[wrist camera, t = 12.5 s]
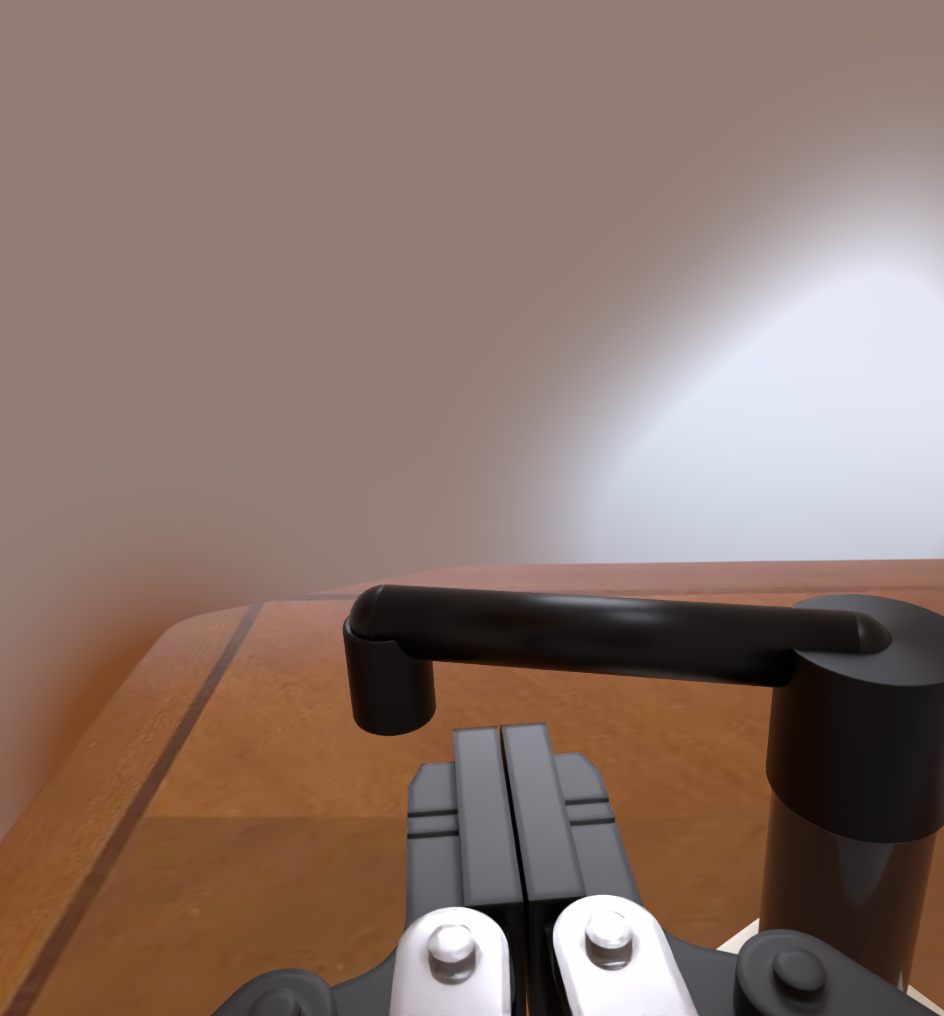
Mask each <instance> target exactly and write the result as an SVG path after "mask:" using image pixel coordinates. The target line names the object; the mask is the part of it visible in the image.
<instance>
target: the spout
mask: <svg viewBox="0 0 944 1016" xmlns="http://www.w3.org/2000/svg"><path fill="white" fill-rule="evenodd" d="M343 637H344V645H345V653H346V661H347V669H348V678H349V686H350V694H351V702H352V710H353V717H354V720H355V722H356V723H357V725H358V726H359V727H360V728H362V729H363V730H365V731H367V732H369V733H372V734H376V735H382V736H395V735H402V734H406V733H410V732H412V731H415V730H417V729H419V728H421V727H422V726H424V725H425V724H427V723H428V722H429V721H430V720H431V718H432V717H433V715H434V713H435V710H436V700H435V688H434V675H433V663H432V661H440V662H452V663H465V664H478V665H491V666H504V667H517V668H530V669H543V670H556V671H569V672H582V673H595V674H608V675H621V676H634V677H647V678H660V679H673V680H686V681H698V682H711V683H724V684H737V685H750V686H763V687H773V693H772V704H771V715H770V726H769V737H768V748H767V759H766V774H767V778H768V781H769V783H770V785H771V788H772V789H773V791H774V792H775V794H776V795H777V797H778V798H779V799H780V800H781V801H782V802H783V803H784V804H785V805H786V806H787V807H788V808H789V809H790V810H791V811H793V812H794V813H795V814H797V815H798V816H799V817H801V818H802V819H804V820H806V821H807V822H809V823H810V824H812V825H814V826H816V827H818V828H820V829H823V830H825V831H827V832H830V833H832V834H835V835H838V836H841V837H844V838H848V839H852V840H856V841H861V842H868V843H877V844H900V843H909V842H913V841H917V840H920V839H923V838H926V837H928V836H930V835H932V834H933V833H935V832H937V831H938V830H939V829H940V828H941V827H942V826H943V825H944V617H943V616H941V615H940V614H937V613H935V612H933V611H930V610H928V609H925V608H922V607H920V606H917V605H913V604H910V603H907V602H903V601H899V600H894V599H889V598H884V597H877V596H870V595H855V594H840V595H827V596H820V597H815V598H811V599H807V600H804V601H802V602H799V603H797V604H795V605H793V606H792V607H776V606H758V605H741V604H723V603H705V602H688V601H670V600H653V599H635V598H617V597H600V596H582V595H564V594H547V593H529V592H511V591H494V590H476V589H458V588H441V587H423V586H406V585H378V586H374V587H372V588H370V589H368V590H366V591H365V592H363V593H362V594H361V595H360V596H359V597H358V598H357V600H356V601H355V603H354V604H353V607H352V609H351V612H350V615H349V616H348V617H347V618H346V620H345V621H344V624H343Z"/></svg>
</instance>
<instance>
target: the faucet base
mask: <svg viewBox="0 0 944 1016" xmlns="http://www.w3.org/2000/svg"><path fill="white" fill-rule="evenodd" d="M936 836H937V832H935V833H933V834H932V835H930V836H928V837H926V838H923V839H920V840H917V841H913V842H909V843H900V844H877V843H868V842H861V841H856V840H852V839H848V838H844V837H841V836H838V835H835V834H832V833H830V832H827V831H825V830H823V829H820V828H818V827H816V826H814V825H812V824H810V823H809V822H807V821H806V820H804V819H802V818H801V817H799V816H798V815H797V814H795V813H794V812H793V811H791V810H790V809H789V808H788V807H787V806H786V805H785V804H784V803H783V802H782V801H781V800H780V799H779V798H778V797H777V795H776V794H775V792H774V791H773V789H772V791H771V802H770V812H769V823H768V833H767V844H766V855H765V865H764V876H763V886H762V897H761V907H760V917H759V918H758V919H757V920H755V921H754V922H753V923H751V924H750V925H749V926H747V927H746V928H744V929H743V930H742V931H740V932H739V933H738V934H736V935H735V936H733V937H732V938H731V939H729V940H728V941H727V942H725V943H724V944H723V945H721V946H720V947H718V948H717V949H716V950H720V951H725V952H730V953H735V954H738V953H739V951H740V948H741V947H742V946H743V944H744V943H745V942H746V941H747V940H748V939H749V938H751V937H752V936H754V935H756V934H758V933H760V932H764V931H767V930H774V929H787V930H794V931H799V932H802V933H806V934H809V935H811V936H813V937H816V938H818V939H820V940H822V941H823V942H825V943H827V944H829V945H830V946H832V947H833V948H835V949H836V950H838V951H840V952H841V953H843V954H844V955H846V956H847V957H849V958H851V959H852V960H854V961H855V962H857V963H858V964H860V965H862V966H863V967H865V968H866V969H868V970H869V971H871V972H873V973H874V974H876V975H877V976H879V977H880V978H882V979H884V980H885V981H887V982H888V983H890V984H892V985H893V986H895V987H896V988H898V989H899V990H901V991H903V992H904V993H906V994H907V995H909V996H910V997H912V998H914V999H915V1000H917V1001H918V1002H920V1003H921V1004H923V1005H925V1006H926V1007H928V1008H929V1009H931V1010H932V1011H934V1012H936V1013H937V1014H939V1015H940V1016H944V1011H943V1010H942V1009H941V1008H939V1007H938V1006H937V1005H935V1004H934V1003H933V1002H931V1001H930V1000H929V999H927V998H926V997H925V996H923V995H922V994H921V993H919V992H918V991H917V990H915V989H914V988H913V987H911V986H910V985H909V980H910V975H911V969H912V964H913V959H914V953H915V948H916V943H917V937H918V932H919V927H920V921H921V916H922V910H923V905H924V900H925V894H926V889H927V884H928V878H929V873H930V868H931V862H932V857H933V852H934V846H935V841H936Z"/></svg>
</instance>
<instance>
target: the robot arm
mask: <svg viewBox="0 0 944 1016" xmlns="http://www.w3.org/2000/svg"><path fill="white" fill-rule="evenodd" d="M453 746H454V762H446V763H432V764H421V766H420V768H419V769H418V771H417V773H416V774H415V776H414V778H413V780H412V781H411V783H410V785H409V786H408V812H407V813H408V818H407V884H406V922H405V928H404V932H403V935H402V937H401V939H400V941H399V943H398V945H397V946H396V947H395V949H394V950H393V952H392V953H391V954H390V955H389V956H388V957H387V958H386V959H385V960H384V961H383V962H382V963H380V964H379V965H378V966H376V967H375V968H373V969H372V970H370V971H369V972H367V973H364V974H362V975H360V976H358V977H356V978H353V979H351V980H348V981H345V982H343V983H340V984H338V985H335V986H333V987H329V985H328V984H327V983H326V982H325V981H324V980H323V979H322V978H321V977H319V976H318V975H316V974H314V973H312V972H309V971H306V970H303V969H295V968H288V969H278V970H273V971H270V972H267V973H264V974H261V975H259V976H257V977H255V978H253V979H252V980H250V981H249V982H247V983H245V984H244V985H243V986H242V987H240V988H239V989H238V990H237V991H236V992H235V993H234V994H233V995H232V996H230V997H229V998H228V999H227V1000H226V1001H225V1002H224V1003H223V1004H222V1005H221V1006H220V1007H219V1008H218V1009H217V1010H216V1011H215V1012H214V1013H213V1014H212V1015H211V1016H526V995H527V1003H528V1010H529V1016H940V1015H939V1014H937V1013H936V1012H934V1011H932V1010H931V1009H929V1008H928V1007H926V1006H925V1005H923V1004H921V1003H920V1002H918V1001H917V1000H915V999H914V998H912V997H910V996H909V995H907V994H906V993H904V992H903V991H901V990H899V989H898V988H896V987H895V986H893V985H892V984H890V983H888V982H887V981H885V980H884V979H882V978H880V977H879V976H877V975H876V974H874V973H873V972H871V971H869V970H868V969H866V968H865V967H863V966H862V965H860V964H858V963H857V962H855V961H854V960H852V959H851V958H849V957H847V956H846V955H844V954H843V953H841V952H840V951H838V950H836V949H835V948H833V947H832V946H830V945H829V944H827V943H825V942H823V941H822V940H820V939H818V938H816V937H813V936H811V935H809V934H806V933H802V932H799V931H794V930H787V929H774V930H767V931H764V932H760V933H758V934H756V935H754V936H752V937H751V938H749V939H748V940H747V941H746V942H745V943H744V944H743V946H742V947H741V948H740V951H739V953H738V954H735V953H730V952H725V951H720V950H715V949H710V948H705V947H701V946H697V945H693V944H690V943H688V942H685V941H683V940H680V939H679V938H677V937H675V936H673V935H671V934H670V933H668V932H667V931H665V930H664V929H663V928H661V927H660V925H659V923H658V922H657V921H656V919H655V918H654V917H653V916H652V915H651V914H650V913H649V912H648V911H647V910H646V909H645V908H644V906H643V904H642V901H641V899H640V896H639V893H638V890H637V886H636V883H635V880H634V877H633V874H632V870H631V867H630V864H629V861H628V858H627V854H626V851H625V848H624V845H623V842H622V838H621V835H620V832H619V829H618V826H617V823H616V822H615V816H614V813H613V810H612V806H611V803H610V802H609V797H608V794H607V790H606V787H605V784H604V781H603V778H602V775H601V772H600V771H599V770H598V769H597V768H596V767H595V766H594V765H593V764H592V763H591V762H590V761H589V760H588V759H587V758H586V757H585V756H584V755H583V754H582V753H581V752H577V753H564V754H553V751H552V747H551V742H550V738H549V734H548V730H547V726H546V723H545V722H542V723H529V724H515V725H501V726H500V741H499V735H498V729H497V726H490V727H476V728H463V729H453ZM500 747H501V748H500Z"/></svg>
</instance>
